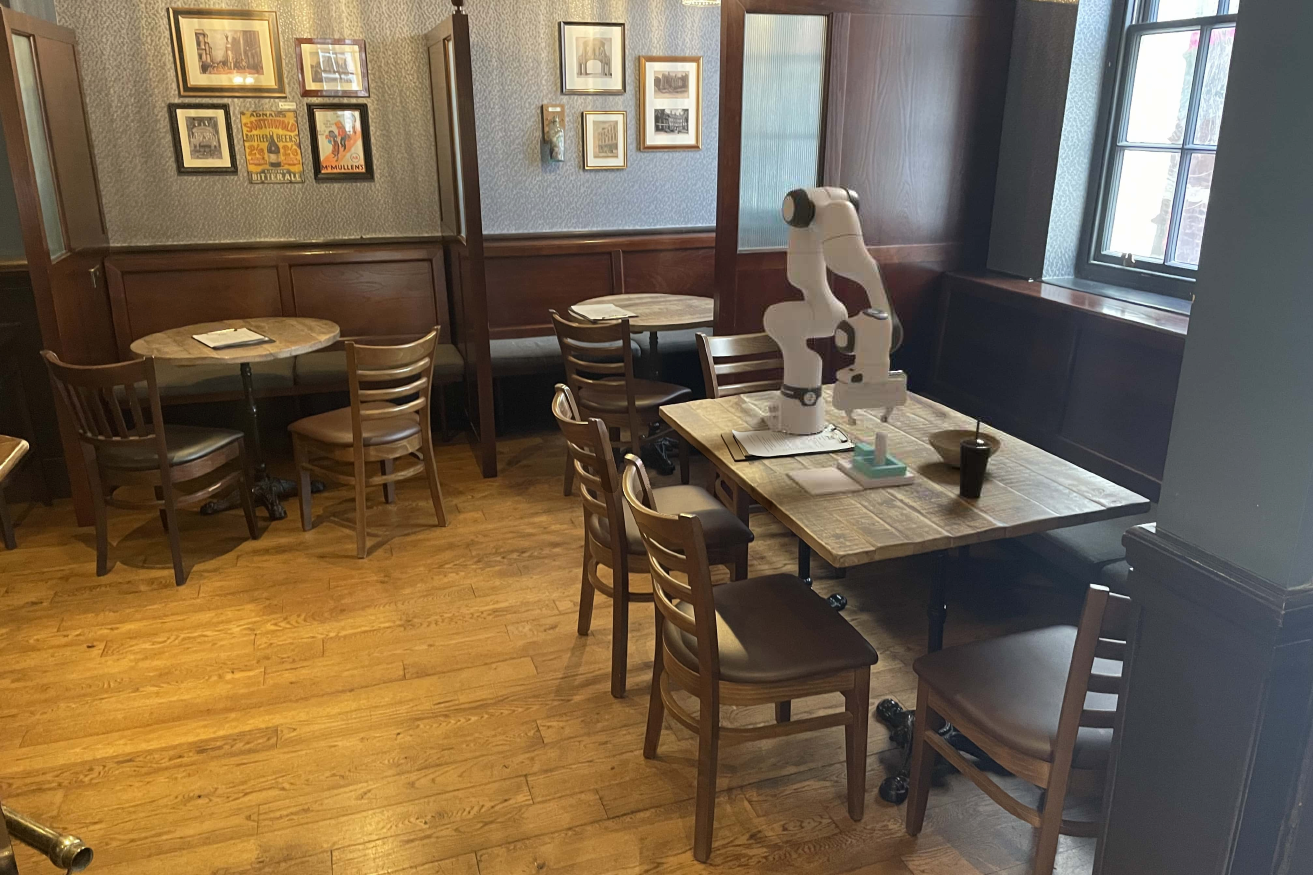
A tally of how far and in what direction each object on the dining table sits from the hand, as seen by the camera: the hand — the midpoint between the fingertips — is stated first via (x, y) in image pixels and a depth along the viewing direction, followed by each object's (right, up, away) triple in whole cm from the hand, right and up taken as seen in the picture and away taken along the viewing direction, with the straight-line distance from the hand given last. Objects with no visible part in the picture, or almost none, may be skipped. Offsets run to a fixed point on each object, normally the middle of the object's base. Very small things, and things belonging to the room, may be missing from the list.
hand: (868, 423), depth 243 cm
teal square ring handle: (+1, -11, -1) cm, 11 cm away
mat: (-13, -15, -6) cm, 21 cm away
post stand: (+1, -14, -1) cm, 14 cm away
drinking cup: (+22, -18, -14) cm, 32 cm away
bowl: (+26, -12, +6) cm, 29 cm away
